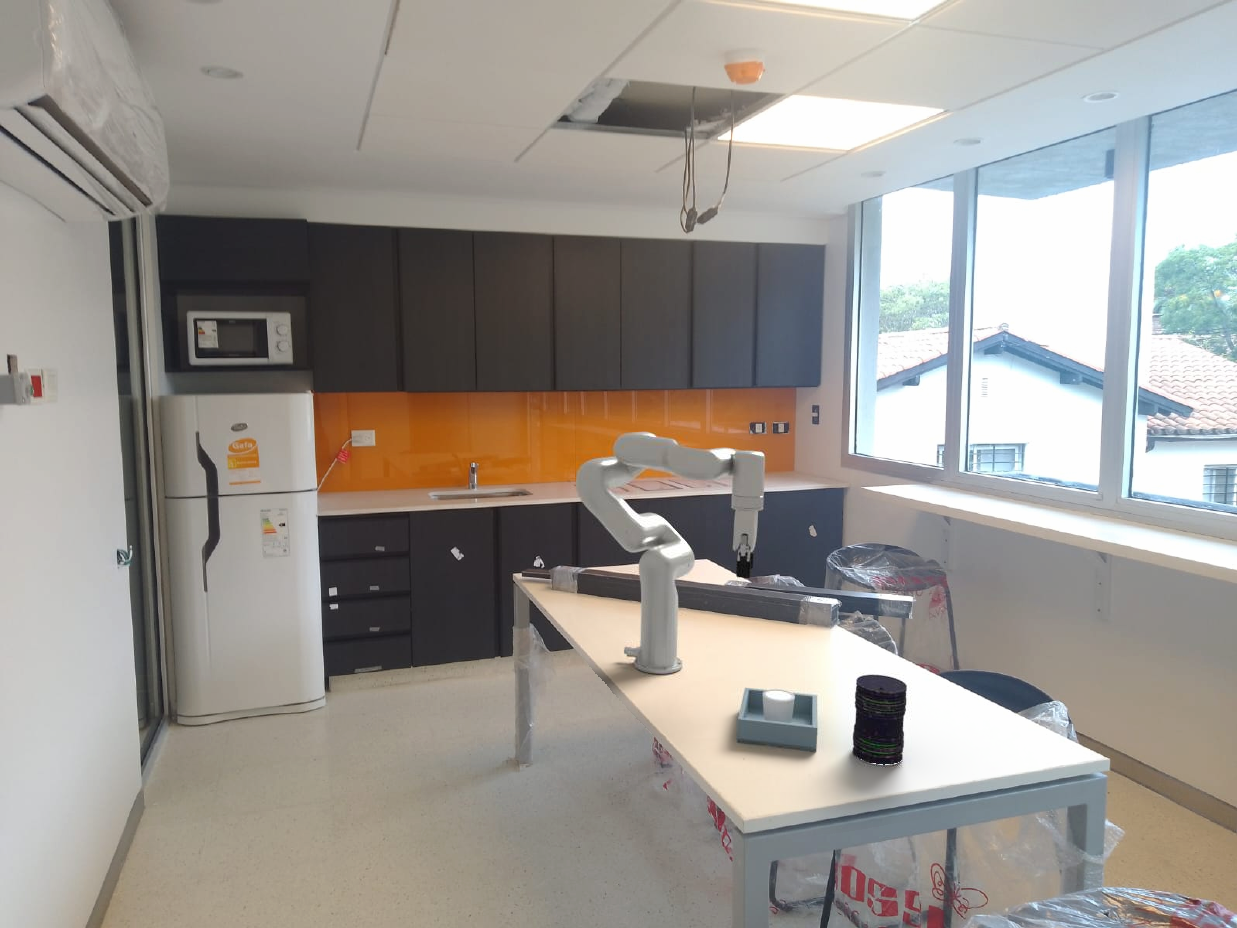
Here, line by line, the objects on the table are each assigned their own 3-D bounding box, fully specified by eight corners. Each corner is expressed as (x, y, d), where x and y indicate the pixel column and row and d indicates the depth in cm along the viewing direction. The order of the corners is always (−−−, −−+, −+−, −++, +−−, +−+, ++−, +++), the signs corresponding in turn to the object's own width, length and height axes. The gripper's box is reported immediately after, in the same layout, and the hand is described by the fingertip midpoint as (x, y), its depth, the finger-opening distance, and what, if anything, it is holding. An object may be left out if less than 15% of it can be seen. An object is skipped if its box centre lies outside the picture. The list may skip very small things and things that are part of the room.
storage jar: (852, 740, 174) (856, 671, 172) (902, 747, 171) (906, 677, 169) (851, 761, 164) (855, 688, 163) (904, 769, 161) (908, 695, 160)
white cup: (795, 722, 180) (797, 691, 180) (790, 735, 174) (792, 702, 173) (764, 717, 183) (765, 686, 182) (758, 729, 176) (759, 697, 176)
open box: (737, 742, 172) (737, 718, 171) (744, 708, 189) (744, 687, 189) (816, 751, 168) (817, 727, 168) (816, 716, 186) (817, 695, 185)
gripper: (735, 496, 208) (732, 563, 210) (728, 507, 191) (725, 579, 193) (765, 498, 206) (762, 566, 208) (761, 508, 189) (758, 582, 191)
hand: (744, 572), depth 200 cm, fingers open, 9 cm apart
